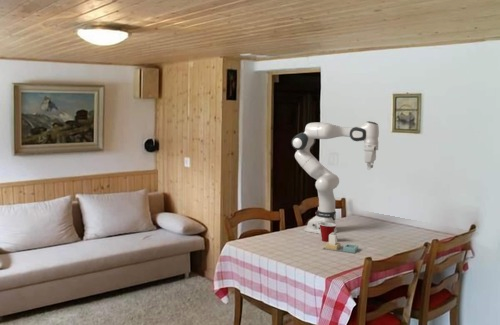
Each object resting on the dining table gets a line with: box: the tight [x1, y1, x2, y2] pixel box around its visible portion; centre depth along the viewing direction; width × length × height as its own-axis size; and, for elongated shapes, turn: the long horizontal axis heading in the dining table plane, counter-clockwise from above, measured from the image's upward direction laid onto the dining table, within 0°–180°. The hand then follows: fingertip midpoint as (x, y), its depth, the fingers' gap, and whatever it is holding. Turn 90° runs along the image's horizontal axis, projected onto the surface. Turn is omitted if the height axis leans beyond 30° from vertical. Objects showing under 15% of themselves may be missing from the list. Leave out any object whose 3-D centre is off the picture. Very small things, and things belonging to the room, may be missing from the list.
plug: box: [329, 232, 338, 245], centre depth 309 cm, size 4×4×9 cm
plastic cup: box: [319, 222, 337, 243], centre depth 325 cm, size 11×11×12 cm
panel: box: [322, 242, 361, 255], centre depth 307 cm, size 20×12×4 cm, turn 62°
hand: (370, 168), depth 331 cm, fingers open, 8 cm apart
